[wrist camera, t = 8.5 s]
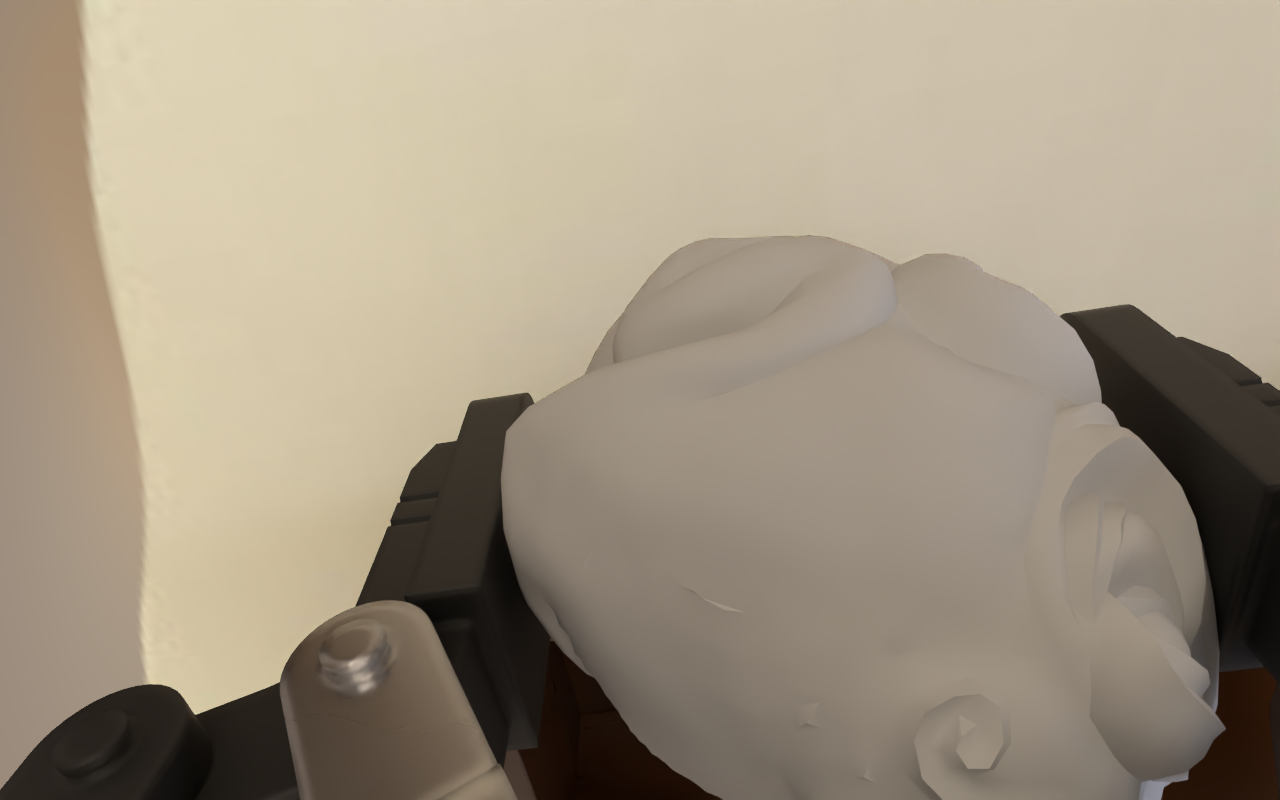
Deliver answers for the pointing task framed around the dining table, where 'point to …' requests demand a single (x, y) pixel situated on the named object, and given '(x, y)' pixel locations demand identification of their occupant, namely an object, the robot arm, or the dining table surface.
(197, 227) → the dining table surface
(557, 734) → the chest
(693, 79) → the dining table surface
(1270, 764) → the chest lid
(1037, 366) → the grey rounded lumpy piece
